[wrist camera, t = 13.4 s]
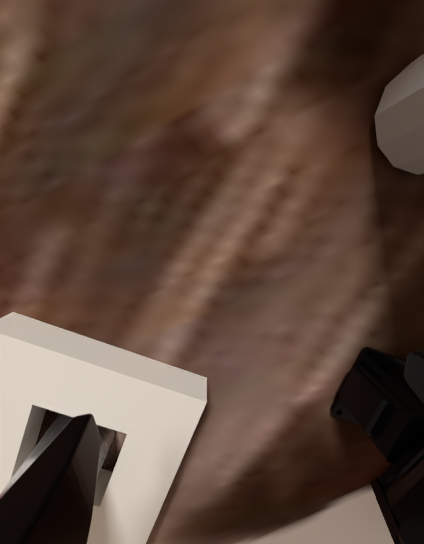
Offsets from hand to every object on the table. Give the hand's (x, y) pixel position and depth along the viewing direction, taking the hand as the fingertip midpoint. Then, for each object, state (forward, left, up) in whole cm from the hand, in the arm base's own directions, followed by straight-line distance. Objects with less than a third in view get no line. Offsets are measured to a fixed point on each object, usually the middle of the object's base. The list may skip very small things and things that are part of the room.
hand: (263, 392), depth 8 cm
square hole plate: (+7, +16, -14) cm, 22 cm away
